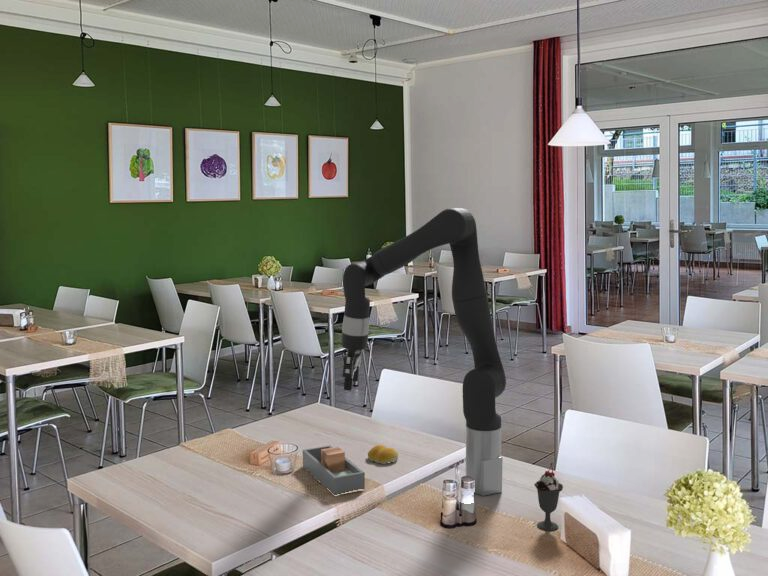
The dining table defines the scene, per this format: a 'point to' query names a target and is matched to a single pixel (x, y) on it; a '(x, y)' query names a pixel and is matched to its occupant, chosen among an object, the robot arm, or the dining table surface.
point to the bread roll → (382, 454)
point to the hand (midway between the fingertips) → (350, 385)
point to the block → (333, 459)
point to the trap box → (335, 480)
